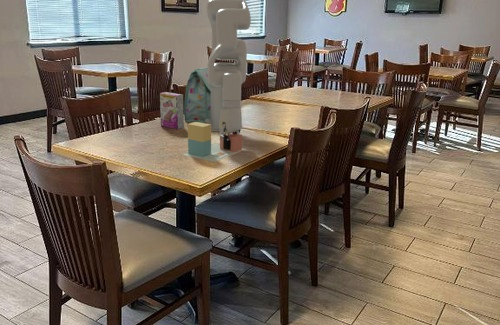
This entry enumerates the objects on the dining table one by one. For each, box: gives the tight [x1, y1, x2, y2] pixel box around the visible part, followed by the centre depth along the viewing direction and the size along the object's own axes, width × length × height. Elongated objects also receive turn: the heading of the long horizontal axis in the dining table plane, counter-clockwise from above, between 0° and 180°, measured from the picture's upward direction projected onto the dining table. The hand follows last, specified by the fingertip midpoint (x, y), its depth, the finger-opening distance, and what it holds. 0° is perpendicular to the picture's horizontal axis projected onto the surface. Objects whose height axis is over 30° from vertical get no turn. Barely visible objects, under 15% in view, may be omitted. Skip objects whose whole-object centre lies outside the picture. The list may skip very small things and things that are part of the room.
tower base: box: [187, 121, 212, 157], centre depth 180 cm, size 8×5×12 cm, turn 58°
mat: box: [181, 142, 247, 163], centre depth 185 cm, size 16×22×1 cm
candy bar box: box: [159, 91, 185, 130], centre depth 222 cm, size 11×5×16 cm, turn 58°
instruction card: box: [208, 152, 229, 158], centre depth 181 cm, size 6×6×1 cm
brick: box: [219, 133, 243, 152], centre depth 188 cm, size 8×5×6 cm, turn 58°
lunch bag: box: [183, 67, 211, 123], centre depth 240 cm, size 23×16×27 cm
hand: (230, 147), depth 189 cm, fingers closed on brick, 5 cm apart
